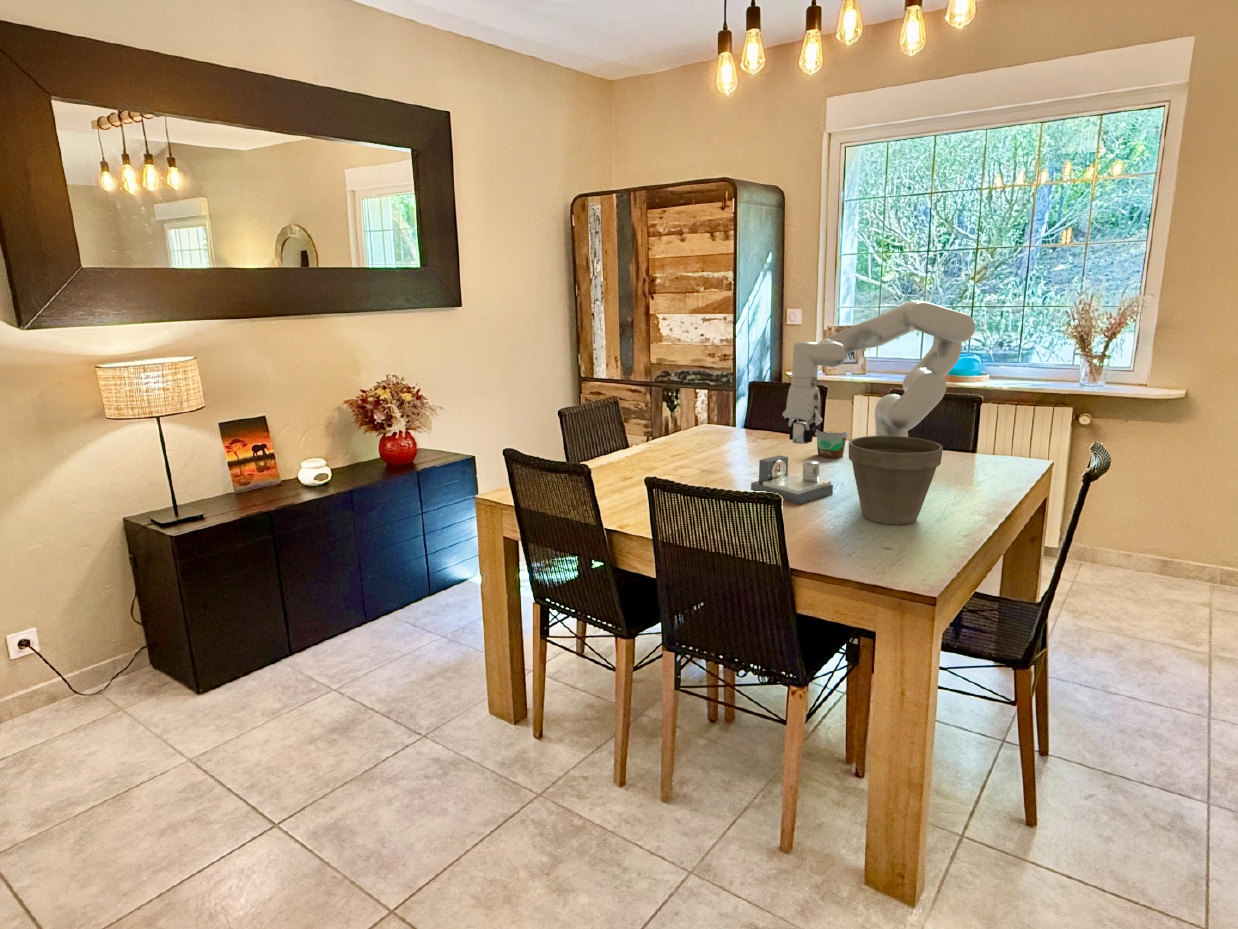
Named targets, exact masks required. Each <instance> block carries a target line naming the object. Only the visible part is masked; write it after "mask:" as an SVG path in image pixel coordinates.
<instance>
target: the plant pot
mask: <svg viewBox="0 0 1238 929" xmlns="http://www.w3.org/2000/svg"><path fill="white" fill-rule="evenodd" d="M943 450H944V447H943V445H942V444H940V443H937V442H935V441H932V440H929V439H928V440H927V439H924V438H918V437H911V436H908V437H900V436H875V435H867V436H862V437H861V436H860V437H855V438H853V439H850V440H849V441H848V459H849V460H850V461H851V462H852V463H851V464H852V469H853V476H854V480H855V486H856V490H857V495H858V499H859V504H860V509H861V513H862V516H863V518H865V519H867V520H869V521H871V522H874V523H877V524H884V525H893V526H895V525H896V526H897V525H899V526H901V525H909V524H912V523H914V522H916V521H917V519H918V517H919V515H920V512H921V511H922V508H923V505H924V502H925V500H926V497H927V494H928V491H929V489H930V487H931V484H932V481H933V479H934V476H935V473H936V470H937V467H940V465H941V463H942V456H943Z"/></svg>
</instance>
